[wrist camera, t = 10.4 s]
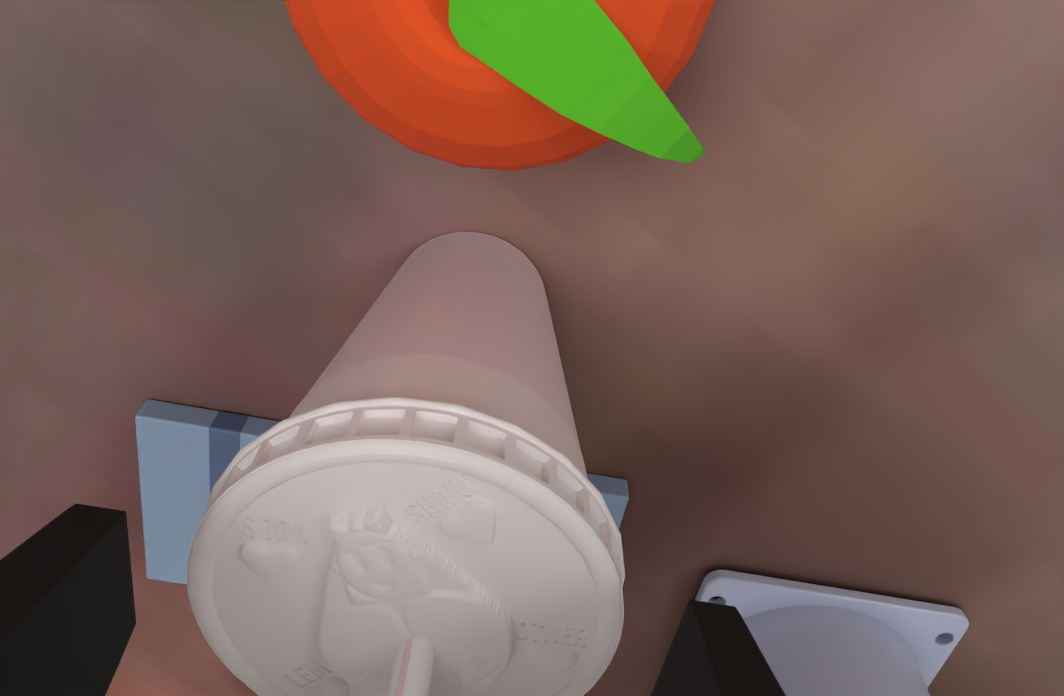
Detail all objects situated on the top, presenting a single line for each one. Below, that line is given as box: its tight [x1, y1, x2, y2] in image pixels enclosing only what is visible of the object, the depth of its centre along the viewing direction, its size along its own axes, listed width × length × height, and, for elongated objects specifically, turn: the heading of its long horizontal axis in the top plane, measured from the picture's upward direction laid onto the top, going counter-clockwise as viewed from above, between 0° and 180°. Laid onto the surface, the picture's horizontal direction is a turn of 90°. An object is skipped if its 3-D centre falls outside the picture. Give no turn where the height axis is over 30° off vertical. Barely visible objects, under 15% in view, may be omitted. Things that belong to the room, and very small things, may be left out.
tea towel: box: [135, 400, 629, 585], centre depth 24 cm, size 6×13×1 cm, turn 79°
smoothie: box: [186, 232, 625, 696], centre depth 14 cm, size 6×6×14 cm
